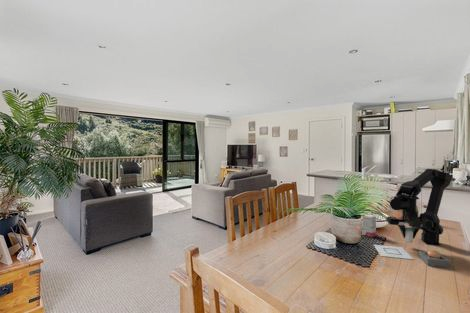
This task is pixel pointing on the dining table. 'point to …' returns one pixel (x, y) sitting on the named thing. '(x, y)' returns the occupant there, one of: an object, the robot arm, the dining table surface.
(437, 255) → the button
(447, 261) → the button housing
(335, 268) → the dining table surface
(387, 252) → the paper sheet
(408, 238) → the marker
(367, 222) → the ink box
